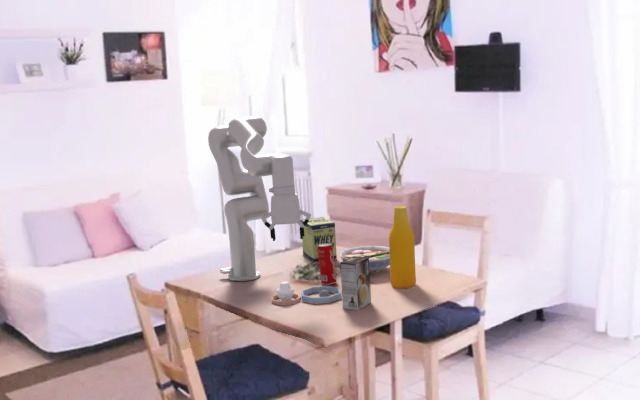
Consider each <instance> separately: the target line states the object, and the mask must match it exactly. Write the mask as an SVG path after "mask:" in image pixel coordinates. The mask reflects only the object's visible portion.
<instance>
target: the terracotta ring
mask: <svg viewBox="0 0 640 400" xmlns="http://www.w3.org/2000/svg"><path fill="white" fill-rule="evenodd" d="M270 298H271V299H270V300H271V301H270V302H271V304H273V305H277V306H289V305H290V306H292V305H294V304H297V303H299V302H301V293H295V292H293V296H292V298H294V299H291V300H290V301H281V300H277V299H280V298H279V296H278V294H277V293H276V294H275V295H271V297H270Z"/></svg>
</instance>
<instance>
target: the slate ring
mask: <svg viewBox="0 0 640 400" xmlns="http://www.w3.org/2000/svg"><path fill="white" fill-rule="evenodd" d="M322 290H327V291H328V292H329V293H332V294H331V295H329V297H319V296H318V297H313V296H309V295H310V294H313V293H320V292H321V291H322ZM300 297H301V301H302V302H305V303H309V304H313V305H314V304H330V303H333V302H335V301H338V300H340V299H341V300H342V290H341V288H340V287H336V286H335V287H334V286H333V285H332V286H330V285H321V286H318V285H317V286H316V285H315V286H311V287H310V286H309V287H307V288H305V289H302V290H300Z"/></svg>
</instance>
